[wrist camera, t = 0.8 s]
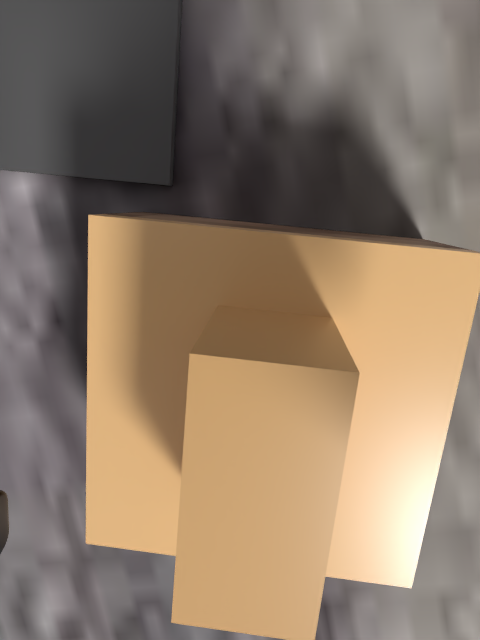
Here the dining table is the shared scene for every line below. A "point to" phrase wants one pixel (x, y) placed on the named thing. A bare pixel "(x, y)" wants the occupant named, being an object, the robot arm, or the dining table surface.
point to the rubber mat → (90, 88)
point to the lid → (268, 409)
